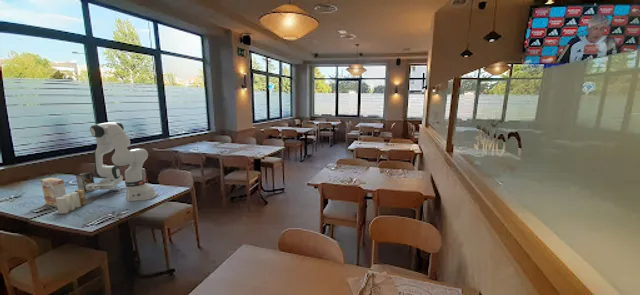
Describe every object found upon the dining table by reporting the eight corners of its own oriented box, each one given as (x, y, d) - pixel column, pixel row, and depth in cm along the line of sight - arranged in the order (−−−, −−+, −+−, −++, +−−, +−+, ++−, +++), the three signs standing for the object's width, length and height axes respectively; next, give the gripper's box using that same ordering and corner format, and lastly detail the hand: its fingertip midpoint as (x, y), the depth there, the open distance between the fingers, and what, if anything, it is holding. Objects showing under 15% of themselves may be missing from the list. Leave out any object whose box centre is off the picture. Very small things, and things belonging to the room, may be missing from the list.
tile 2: (80, 206, 197) (78, 192, 195) (78, 207, 195) (75, 193, 193) (73, 206, 197) (71, 192, 194) (71, 207, 195) (68, 193, 192)
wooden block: (86, 203, 202) (83, 189, 200) (84, 204, 200) (81, 190, 198) (79, 203, 201) (76, 189, 199) (77, 204, 199) (74, 190, 197)
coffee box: (89, 189, 233) (86, 172, 230) (95, 190, 232) (92, 172, 229) (78, 193, 225) (75, 175, 221) (84, 193, 223) (81, 175, 220)
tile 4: (68, 212, 187) (65, 197, 185) (66, 213, 185) (63, 198, 183) (61, 212, 187) (58, 197, 185) (58, 213, 185) (55, 198, 183)
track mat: (103, 197, 216) (103, 196, 215) (66, 215, 182) (66, 215, 182) (91, 197, 215) (91, 196, 215) (51, 216, 182) (51, 215, 182)
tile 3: (74, 209, 192) (72, 194, 190) (72, 210, 190) (69, 195, 188) (67, 209, 192) (64, 194, 190) (65, 210, 190) (62, 195, 188)
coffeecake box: (45, 204, 202) (40, 179, 198) (57, 200, 209) (52, 177, 205) (56, 207, 197) (51, 182, 193) (68, 203, 203) (63, 179, 200)
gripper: (92, 180, 224) (78, 186, 210) (117, 180, 224) (105, 185, 211) (94, 187, 225) (80, 193, 211) (118, 187, 226) (106, 193, 212)
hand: (93, 189), depth 211 cm, fingers closed
